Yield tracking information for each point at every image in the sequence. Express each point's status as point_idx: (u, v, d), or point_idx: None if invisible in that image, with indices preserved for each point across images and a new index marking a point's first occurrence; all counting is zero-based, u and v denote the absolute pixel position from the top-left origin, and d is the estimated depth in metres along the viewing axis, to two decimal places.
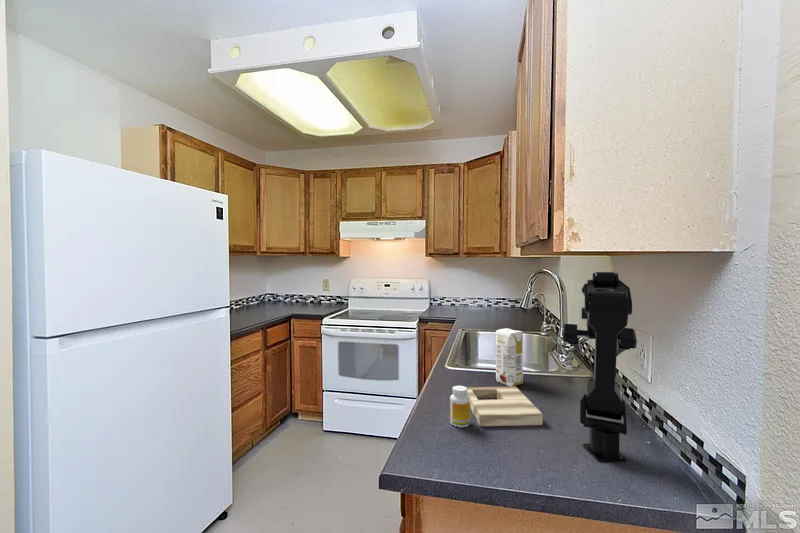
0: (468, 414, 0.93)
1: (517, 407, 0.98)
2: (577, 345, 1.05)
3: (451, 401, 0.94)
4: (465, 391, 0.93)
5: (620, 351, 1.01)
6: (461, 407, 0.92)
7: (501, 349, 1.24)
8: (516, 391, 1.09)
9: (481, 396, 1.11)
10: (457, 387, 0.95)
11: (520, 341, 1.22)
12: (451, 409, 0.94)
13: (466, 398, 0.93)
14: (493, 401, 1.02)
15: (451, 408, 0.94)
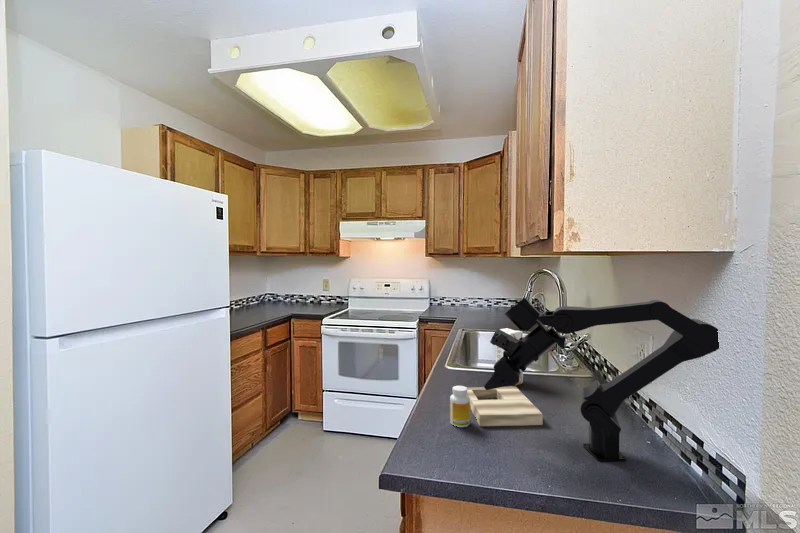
0: (468, 414, 0.93)
1: (517, 407, 0.98)
2: None
3: (451, 401, 0.94)
4: (465, 391, 0.93)
5: None
6: (461, 407, 0.92)
7: (501, 349, 1.24)
8: (516, 391, 1.09)
9: (481, 396, 1.11)
10: (457, 387, 0.95)
11: None
12: (451, 409, 0.94)
13: (466, 398, 0.93)
14: (493, 401, 1.02)
15: (451, 408, 0.94)
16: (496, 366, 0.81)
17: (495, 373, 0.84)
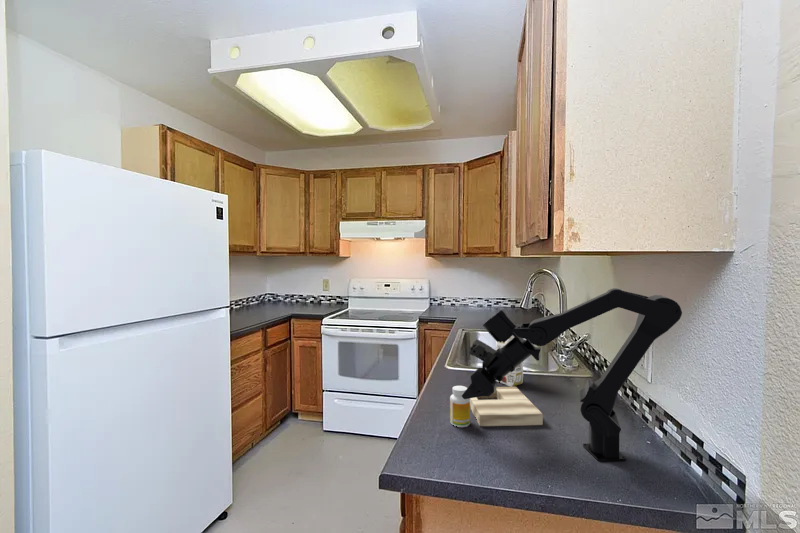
0: (468, 414, 0.93)
1: (517, 407, 0.98)
2: None
3: (451, 401, 0.94)
4: None
5: None
6: (461, 407, 0.92)
7: None
8: (516, 391, 1.09)
9: (481, 396, 1.11)
10: (457, 387, 0.95)
11: None
12: (451, 409, 0.94)
13: None
14: (493, 401, 1.02)
15: (451, 408, 0.94)
16: (472, 377, 0.84)
17: (472, 383, 0.86)
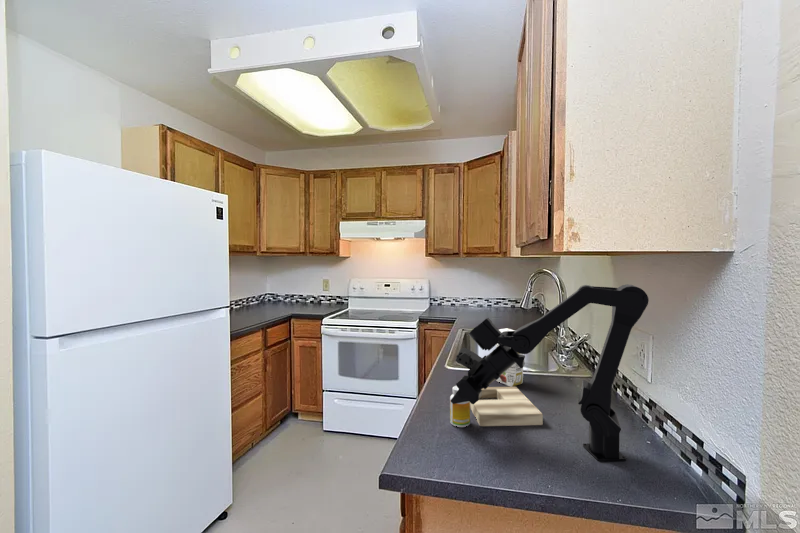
0: (468, 413, 0.93)
1: (517, 407, 0.98)
2: None
3: None
4: None
5: None
6: (461, 407, 0.92)
7: None
8: (516, 391, 1.09)
9: (481, 396, 1.11)
10: (457, 387, 0.95)
11: None
12: (451, 409, 0.94)
13: None
14: (493, 401, 1.02)
15: (451, 408, 0.94)
16: (458, 385, 0.85)
17: None
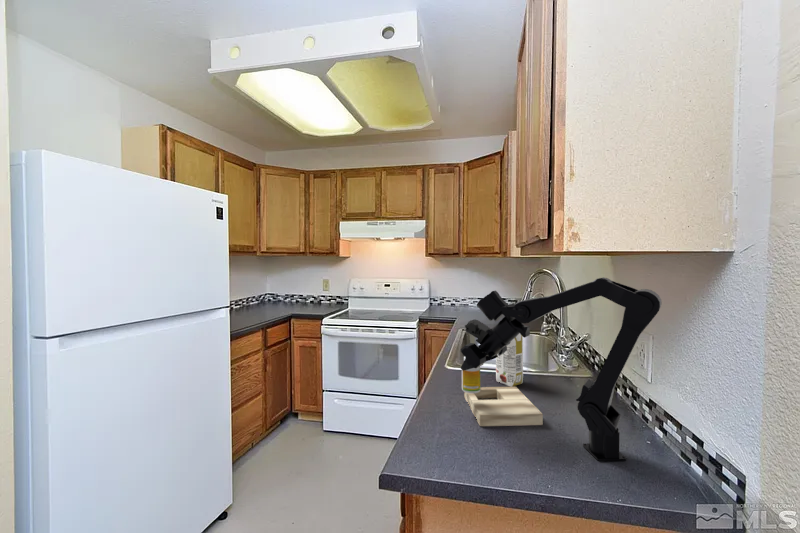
0: (477, 381, 0.99)
1: (517, 407, 0.98)
2: None
3: None
4: None
5: (488, 360, 1.02)
6: (470, 374, 0.98)
7: None
8: (516, 391, 1.09)
9: (481, 396, 1.11)
10: None
11: (520, 341, 1.22)
12: (462, 376, 1.00)
13: None
14: (493, 401, 1.02)
15: (462, 375, 1.01)
16: (461, 350, 0.92)
17: None
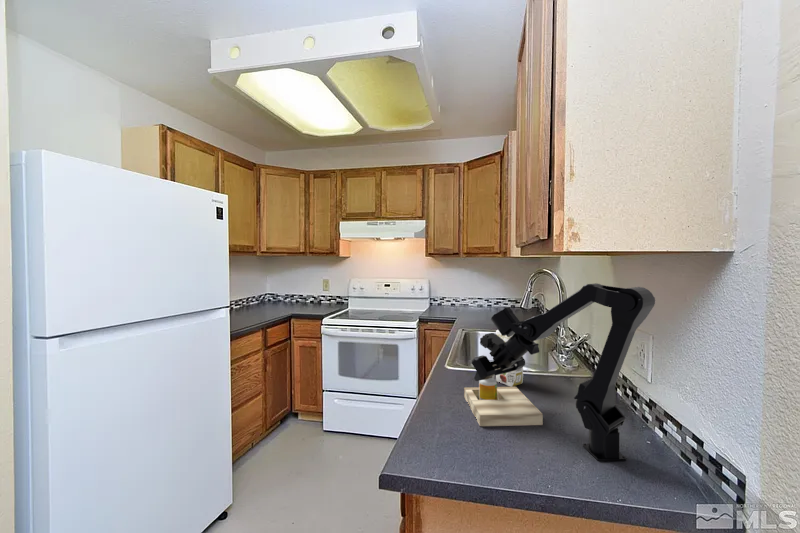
0: (492, 395, 1.04)
1: (517, 407, 0.98)
2: None
3: (479, 382, 1.07)
4: None
5: None
6: (485, 388, 1.04)
7: None
8: (516, 391, 1.09)
9: None
10: None
11: None
12: (479, 389, 1.07)
13: (491, 381, 1.05)
14: (493, 401, 1.02)
15: (479, 388, 1.07)
16: (472, 361, 1.00)
17: None
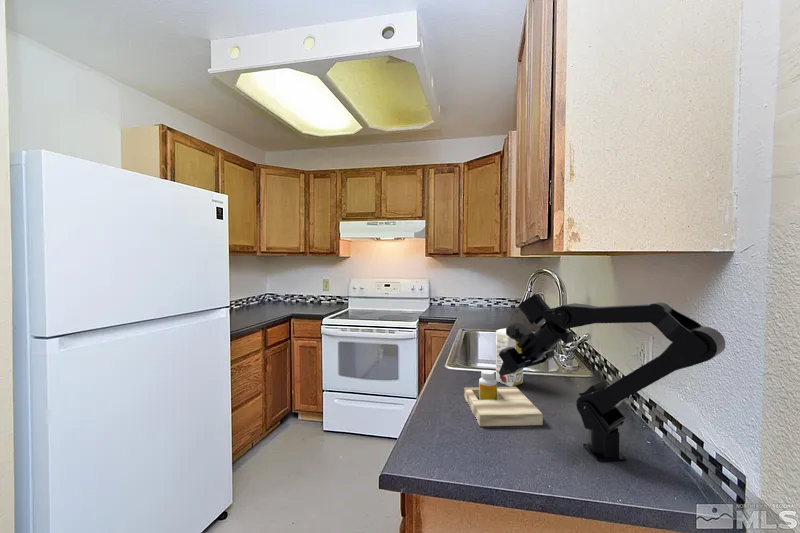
0: (492, 395, 1.04)
1: (517, 407, 0.98)
2: None
3: (479, 382, 1.07)
4: (490, 375, 1.05)
5: None
6: (485, 388, 1.05)
7: (501, 349, 1.24)
8: (516, 391, 1.09)
9: None
10: (486, 371, 1.08)
11: None
12: (479, 389, 1.07)
13: (491, 381, 1.05)
14: (493, 401, 1.02)
15: (479, 388, 1.07)
16: (499, 354, 0.92)
17: None
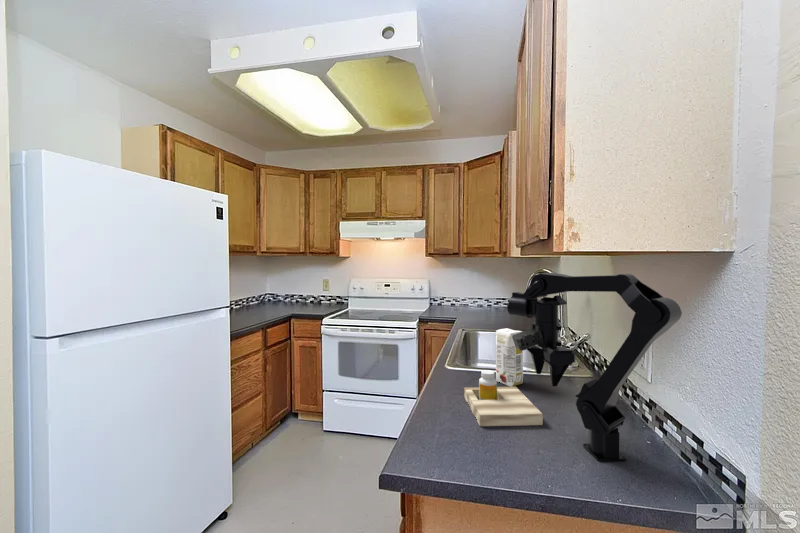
0: (492, 395, 1.04)
1: (517, 407, 0.98)
2: None
3: (479, 382, 1.07)
4: (490, 375, 1.05)
5: None
6: (485, 388, 1.05)
7: (501, 349, 1.24)
8: (516, 391, 1.09)
9: None
10: (486, 371, 1.08)
11: None
12: (479, 389, 1.07)
13: (491, 381, 1.05)
14: (493, 401, 1.02)
15: (479, 388, 1.07)
16: (552, 360, 0.82)
17: (552, 367, 0.85)
